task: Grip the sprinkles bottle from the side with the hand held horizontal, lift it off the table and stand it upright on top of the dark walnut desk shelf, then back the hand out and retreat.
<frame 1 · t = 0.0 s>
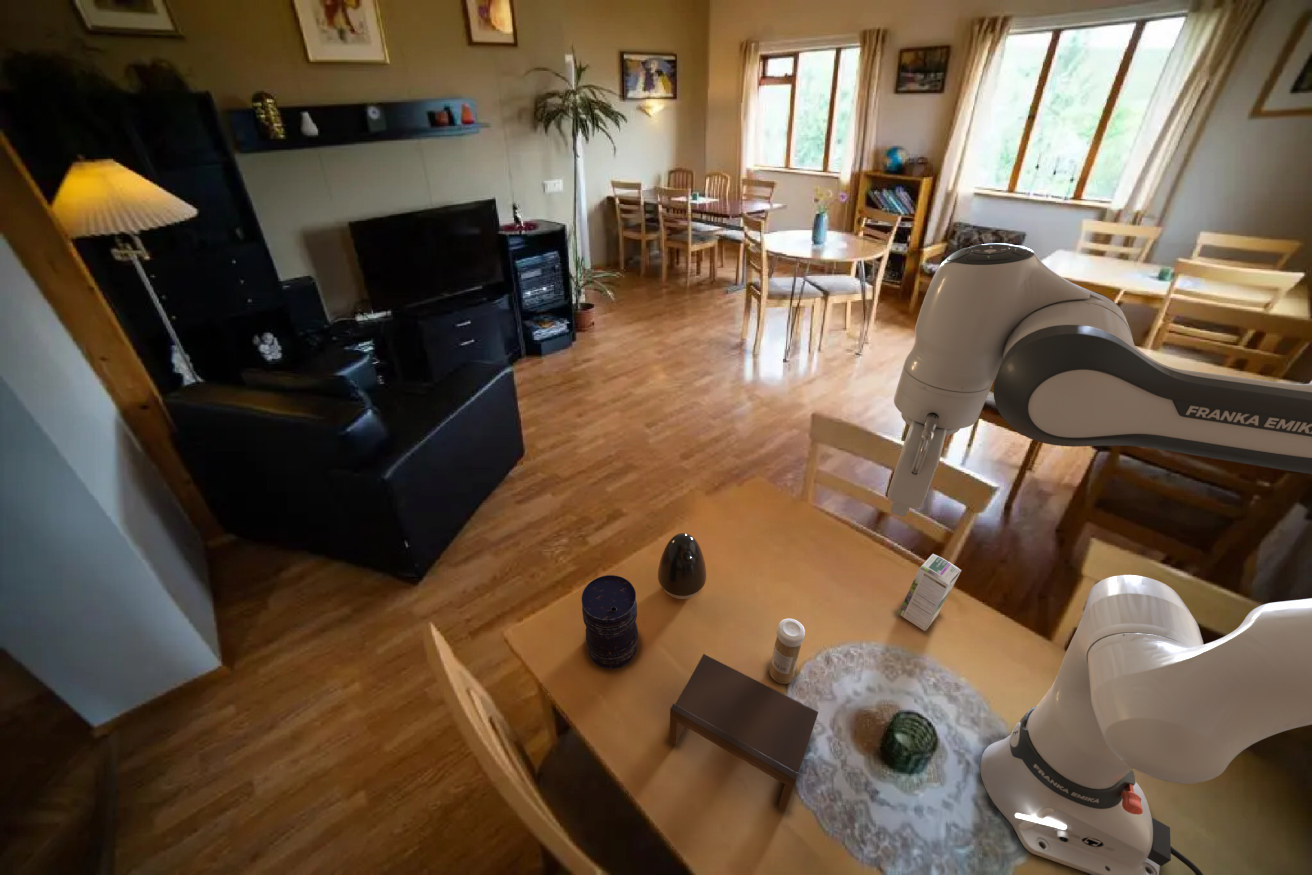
hand: (905, 489, 67), 48 cm above the table, tool pointing down, fingers open, 8 cm apart
syrup box: (917, 616, 108), on the table
sprinkles bottle: (780, 673, 98), on the table
storage jar: (612, 646, 103), on the table
desk shelf: (739, 740, 88), on the table
black egg-shaped piece: (681, 588, 114), on the table
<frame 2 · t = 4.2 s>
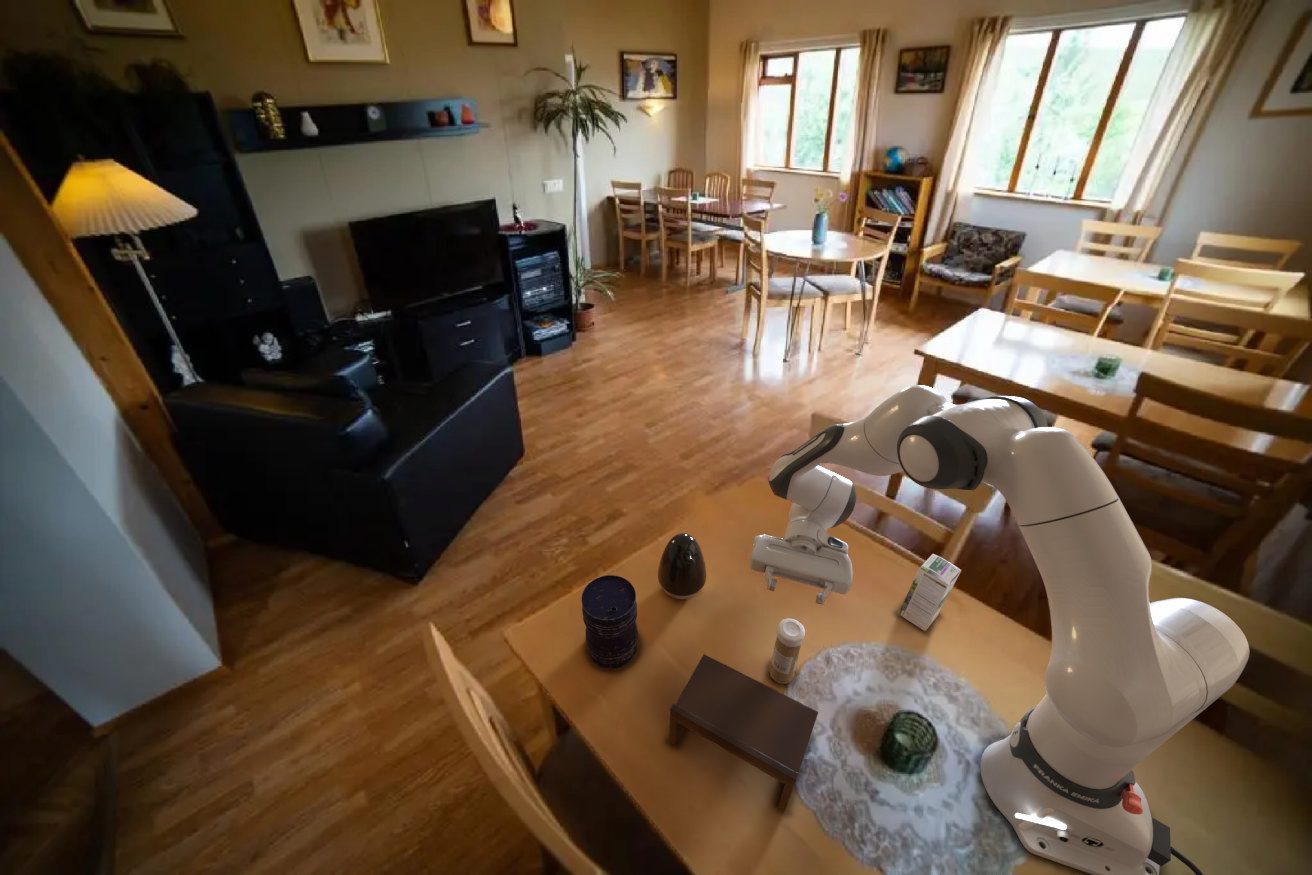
hand: (795, 595, 103), 8 cm above the table, tool horizontal, fingers open, 8 cm apart
nothing on the table moved.
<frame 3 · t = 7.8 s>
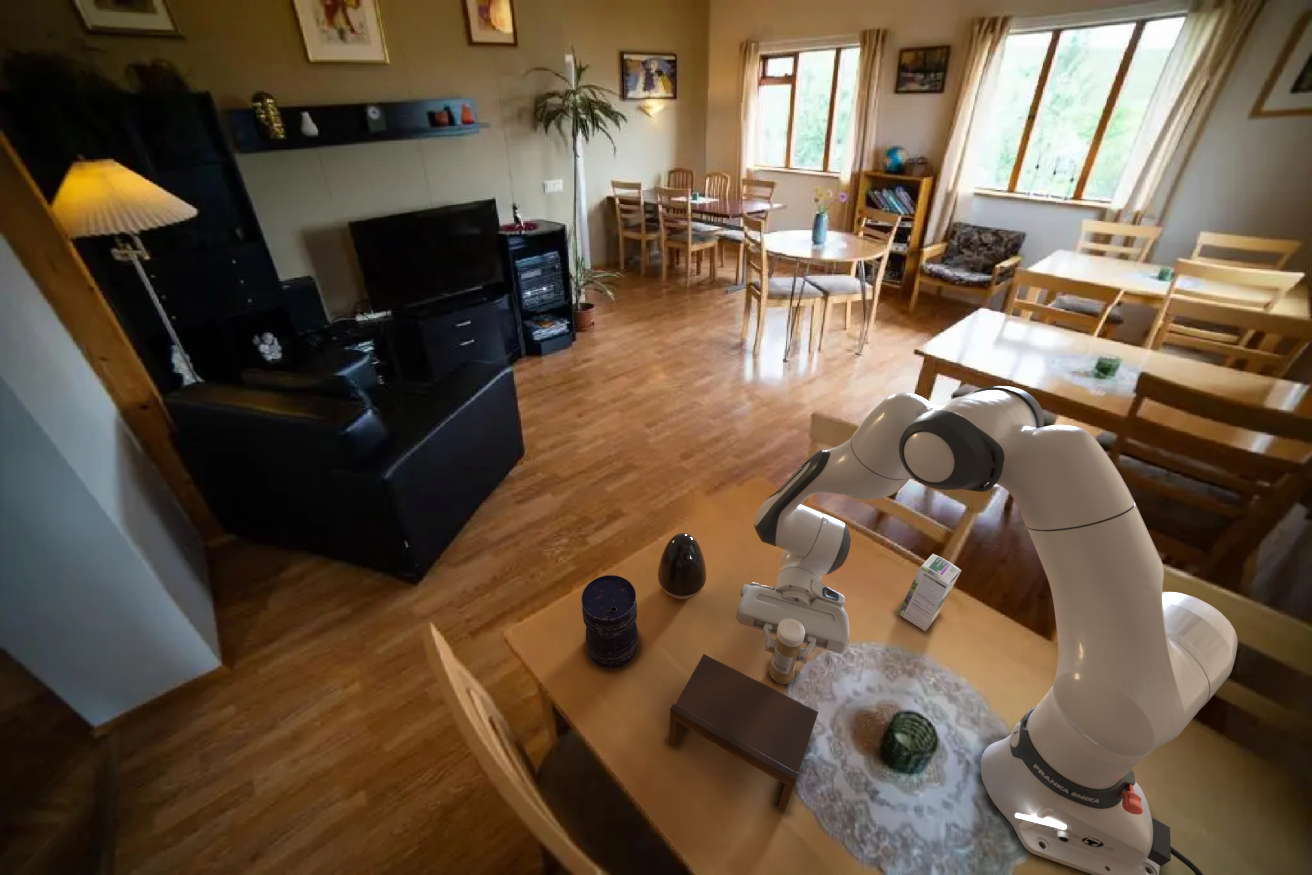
hand: (785, 655, 93), 7 cm above the table, tool horizontal, fingers closed on sprinkles bottle, 4 cm apart
sprinkles bottle: (780, 673, 98), on the table, touching gripper
everything else where it was.
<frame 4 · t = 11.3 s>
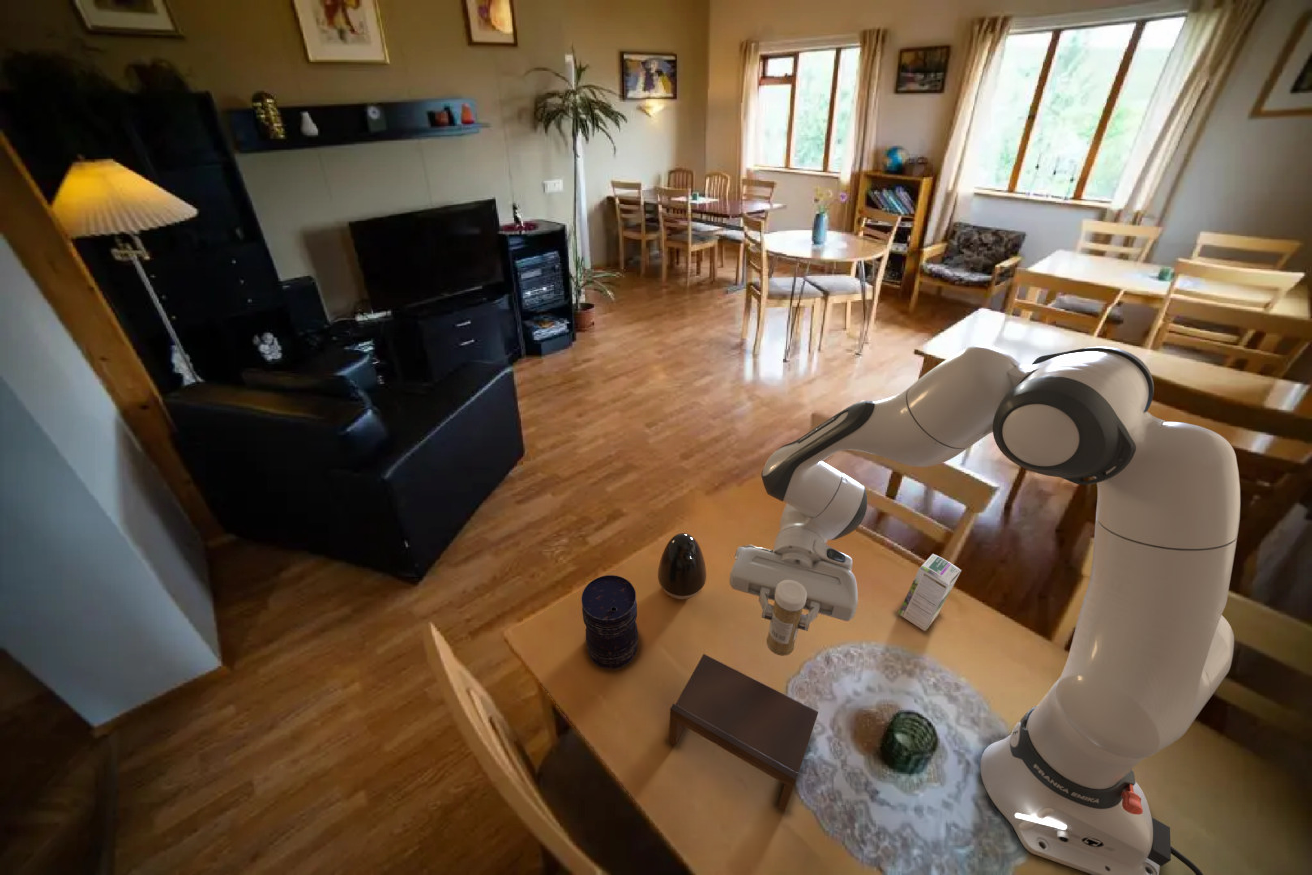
hand: (785, 622, 82), 22 cm above the table, tool horizontal, fingers closed on sprinkles bottle, 4 cm apart
sprinkles bottle: (779, 644, 87), point 15 cm above the table, touching gripper
everything else where it was.
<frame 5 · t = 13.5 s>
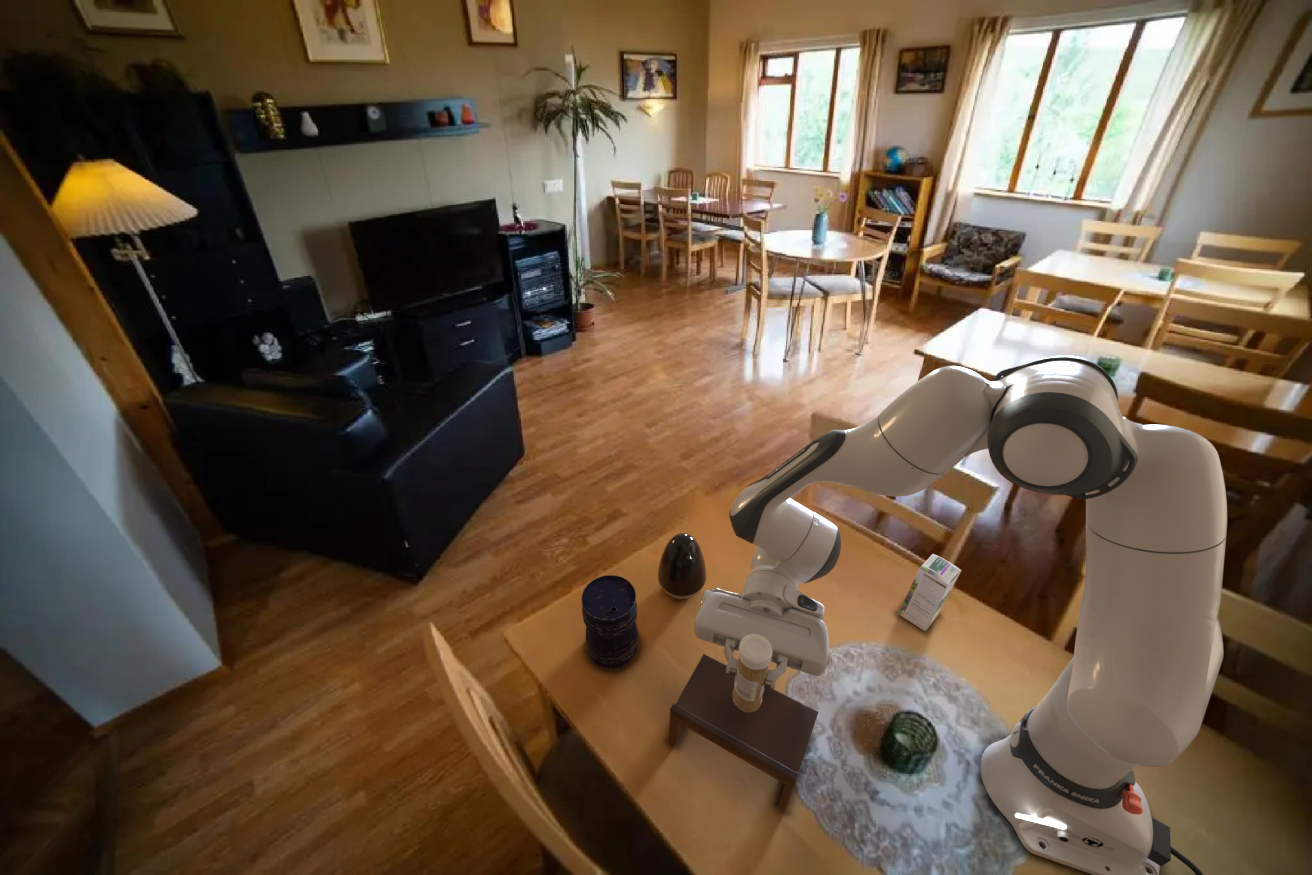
hand: (750, 678, 76), 20 cm above the table, tool horizontal, fingers closed on sprinkles bottle, 4 cm apart
sprinkles bottle: (746, 699, 81), point 13 cm above the table, touching gripper
everything else where it was.
when the fingers open (16 cm above the table, at t = 15.1 s): sprinkles bottle stays where it is, resting on desk shelf.
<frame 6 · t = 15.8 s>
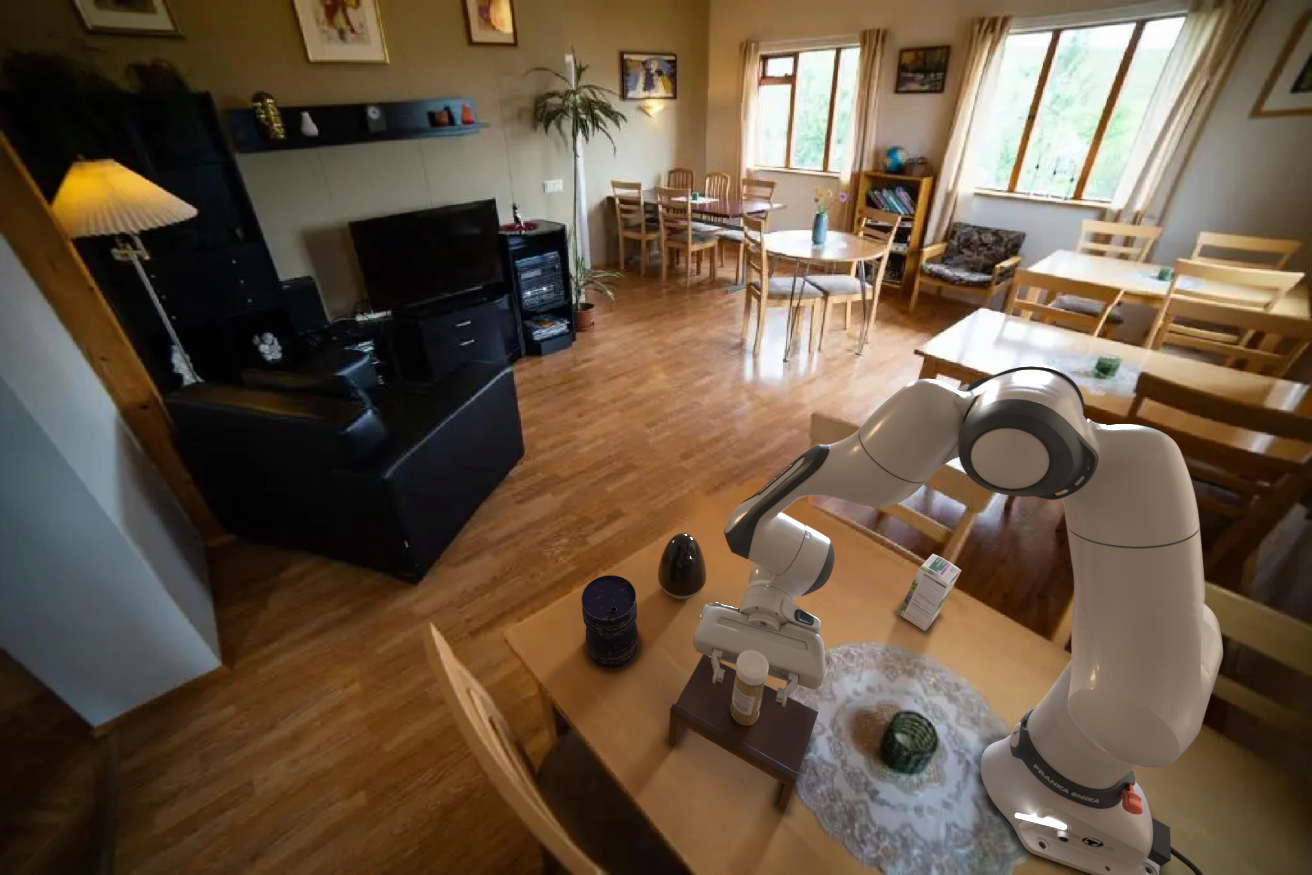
hand: (748, 692, 78), 16 cm above the table, tool horizontal, fingers open, 8 cm apart
sprinkles bottle: (743, 712, 83), point 9 cm above the table, touching desk shelf
everything else where it was.
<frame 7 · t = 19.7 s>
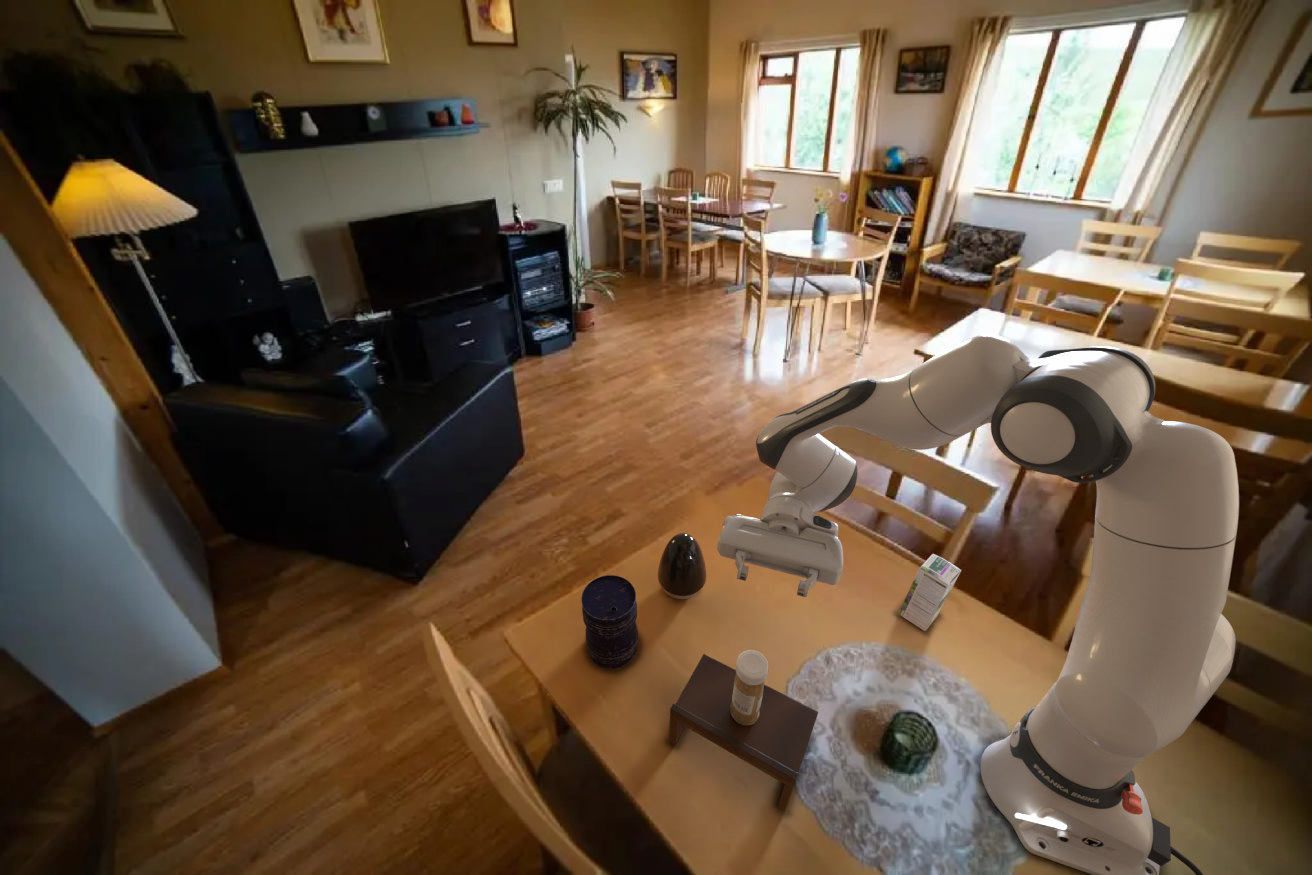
hand: (771, 585, 83), 26 cm above the table, tool horizontal, fingers open, 8 cm apart
nothing on the table moved.
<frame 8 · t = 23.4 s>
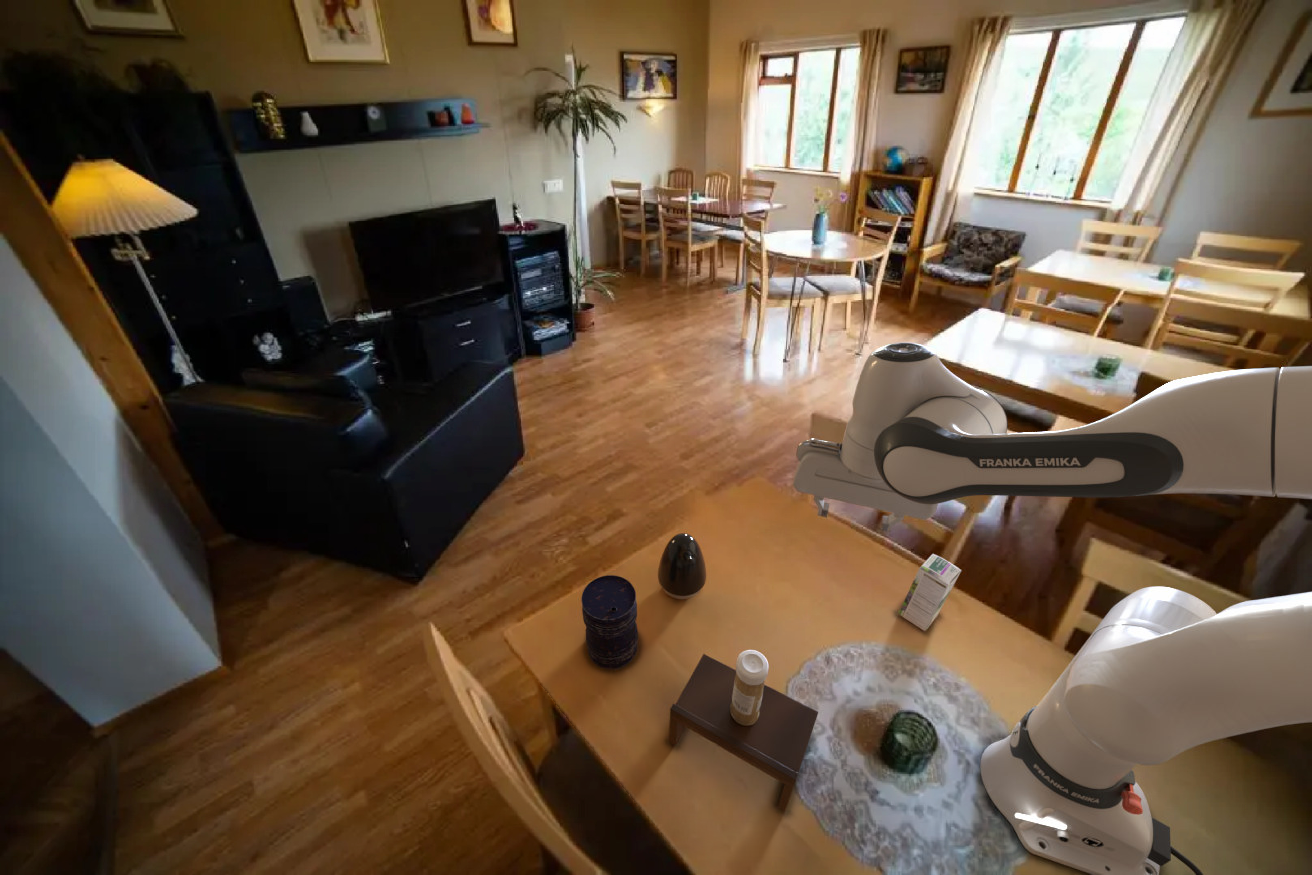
hand: (853, 521, 84), 33 cm above the table, tool pointing down, fingers open, 8 cm apart
nothing on the table moved.
at the end: sprinkles bottle inside the target area on the desk shelf (0.1 cm from its centre), point 8.8 cm above the desk shelf's base; sprinkles bottle tilted 0°; the gripper is holding nothing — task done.
